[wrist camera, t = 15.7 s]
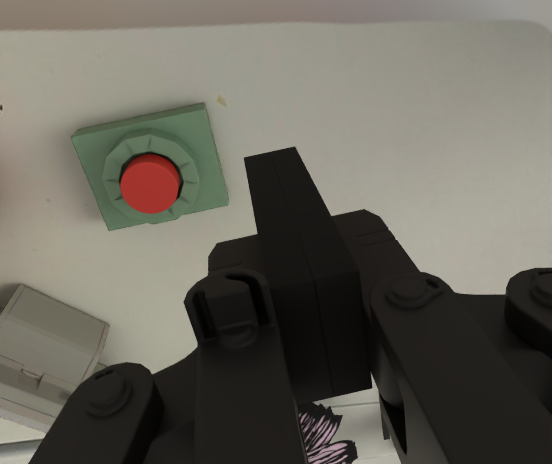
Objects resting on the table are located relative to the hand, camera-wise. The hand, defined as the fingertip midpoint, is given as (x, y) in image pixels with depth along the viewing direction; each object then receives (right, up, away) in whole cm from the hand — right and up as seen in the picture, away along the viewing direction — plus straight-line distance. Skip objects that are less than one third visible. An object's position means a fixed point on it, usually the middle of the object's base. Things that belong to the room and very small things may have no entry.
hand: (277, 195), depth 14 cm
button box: (-10, +4, +24) cm, 26 cm away
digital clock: (-22, -11, +30) cm, 39 cm away
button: (-9, +3, +21) cm, 23 cm away
